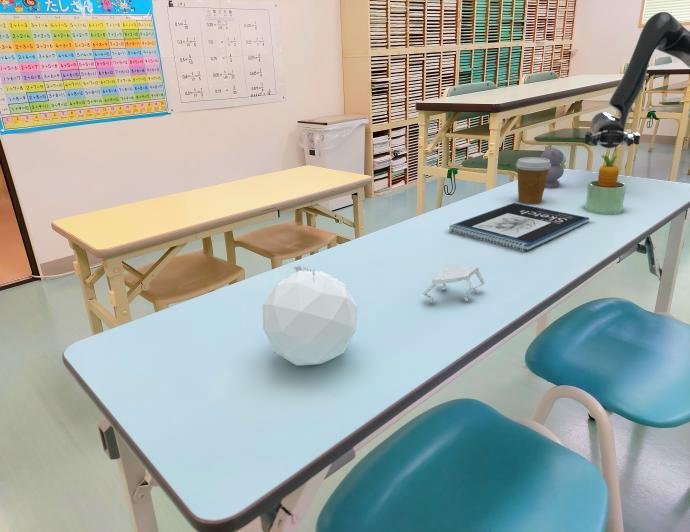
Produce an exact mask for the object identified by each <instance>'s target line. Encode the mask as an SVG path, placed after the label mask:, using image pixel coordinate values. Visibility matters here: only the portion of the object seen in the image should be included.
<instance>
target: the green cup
mask: <svg viewBox="0 0 690 532" xmlns="http://www.w3.org/2000/svg"><path fill="white" fill-rule="evenodd" d="M626 191H627V184H626V183H624V182H621V181H617V182H616V187H615V188H605V187H598V179H597V180H596V179H595V180H592V181H589V182H588V185H587V192H586V198H585V199H586V200H585V210H587V211H588V212H591V213H594V214H601V215H616V214H620V213H622V212H623V209H624V203H625V196H626Z"/></svg>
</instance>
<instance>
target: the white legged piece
mask: <svg viewBox="0 0 690 532" xmlns="http://www.w3.org/2000/svg"><path fill="white" fill-rule="evenodd" d="M473 275H476V277H477V278H478V279H479V281H480V284H479V285H476V286H473V284H472V282H471V280H470V278H472V276H473ZM462 281H466V283H467V285H468V287H469V288H468V290H467V291H466V292H465V294H464V296H463V299H464V301H465V302H468V301H469V298H468V297H467V296H468V294H469V293H470V292H471V291H472V290H473V291H474V292H475V293H476V294H479V293H480V292H479V291H478V290H477V289H478V288H480V287H481V286H484V285H485V284H486V282H485V280H484V278H483V276H482V273H481V272H480V269H479V266H477V267H476V266H467V267H466V266H464V267H460V266H459V267H457V266H448V265H446V266H445V268H444V269H443V270H442V271H441V272H440V273H439V274H438V275H437V276H436V278H433V279H432V282H431V284H430V285H429V287H428V288H427V289H426V290H424V291H423V293H422V295H423V296H425V297H426V298H428V299H429V300H431V301H429V302H428V304H432V303H434V302H436V299H435V298H434V297H432V295H429V294H428V293H429V292H430V291H431V290H432V289H434V288H435V287H436V286H437V285H440V284H441V285H442V288H441V290H442V291H444V290H447V285H446V284H452V283H457V282H462Z"/></svg>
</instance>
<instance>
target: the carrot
mask: <svg viewBox="0 0 690 532" xmlns="http://www.w3.org/2000/svg"><path fill="white" fill-rule="evenodd" d="M617 153H618V152H617V151H615V150H613V151H612V155H611V159H610V158H609V156H608V154H602V155H601V158H603V160H604V161H605V165H601V166H600V167H599V169H598V177H597V180H598V187H605V188H615V187H616V182H618V177H619V167H618V166H617V165H614V163H615V160H616V158H617V157H618V156H617Z"/></svg>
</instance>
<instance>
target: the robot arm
mask: <svg viewBox="0 0 690 532" xmlns="http://www.w3.org/2000/svg"><path fill="white" fill-rule="evenodd" d="M655 50H657V51H659V52H661V53H664V54H667V55H669V56H671V57H674V58H676V59H678V60H680V61H681V62H682V63H683V64H684V65H685V66H687V67H688V68H689V69H690V30H688V28H686V27H684V26H683V24H682V23H681V22H679V20H677V18H675V17H674V15H672V14H671V13H669V12H667V11H660V12H657V13H654V14H653V15H652V16H651V17H650V18H648V20H647V21H646V22H645V24H644V26H643V27H642V30H641V32H640V34H639V37H638V39H637V42H636V45H635V48H634V50H633V53H632V54H631V58H630V60H629V63H628V64H627V68H626V70H625V72H624V73H623V76H622V77H621V79H620V82H619V84H617V87H615V88H616V89H615V90H614V92H613V93H612V95H611V97H610V99H609V102H608V104H609V106H610V107H611V108H612V109H614V110H615V111H617V113H618V117H617V116H614V115H612V114H609V113H607V112H603V111H601V112H599V113H596V114H595V115H594V116H593V117H592V118H591V121H590V125H589V130H590V131H586V132H585V135H584V140H583V141H584V142H583V143H584V144H589V143H590V144H592V145H593V146H597V145H600V146H601V147H602V148H605V149H613V148H616V147H618V146H619V145H621V146H625V145H626V146H627V147H631V145H632V146H633V145H635V146H636V145H640V139H641V134H640V133H639V132H637V131H634V132H632V133H631V134H629V133H628V132H627V131H625V130H626V125H627V121H628V118H629V115H630V112H631V109H632V107H633V105H634V103H635V102H636V100H637V98H638V96H639V95H640V93H641V92H642V90H643V87H644V84H645V82H646V81H645V80H646V76H647V72H648V67H649V64H650V61H651V59H652V56H653V54H654V52H655Z"/></svg>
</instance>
